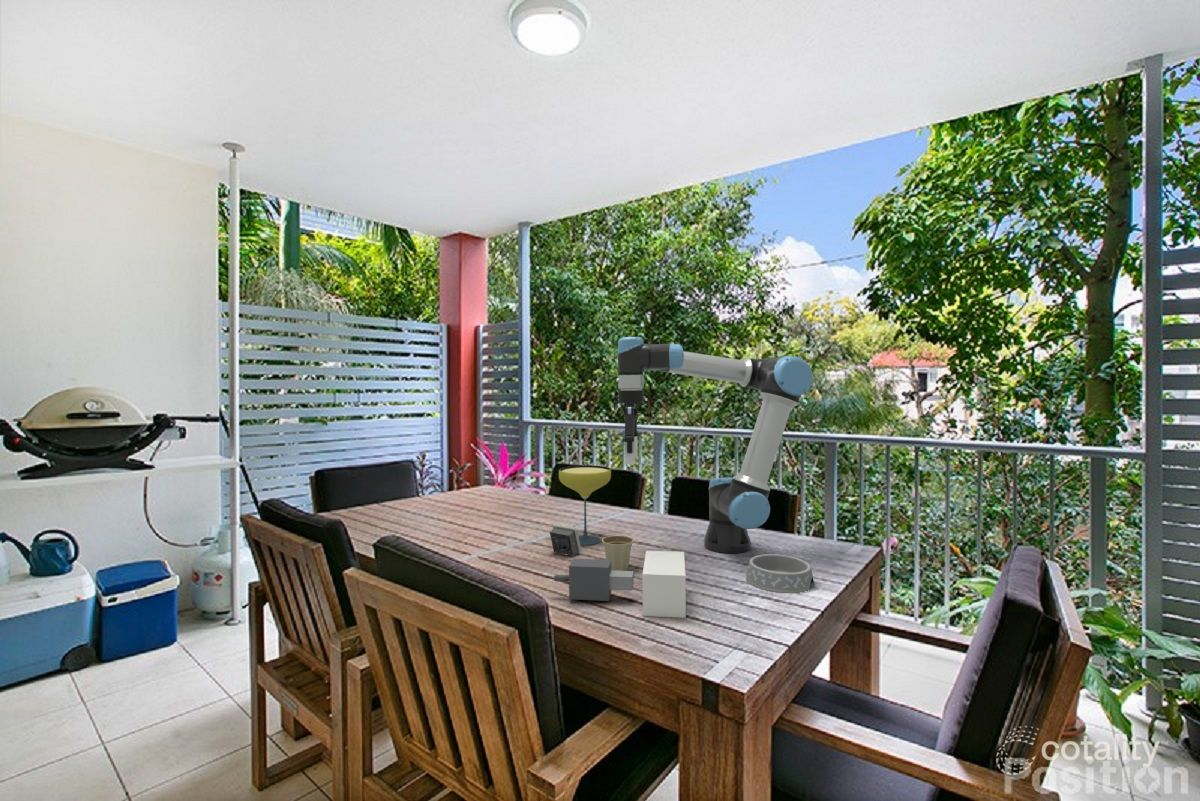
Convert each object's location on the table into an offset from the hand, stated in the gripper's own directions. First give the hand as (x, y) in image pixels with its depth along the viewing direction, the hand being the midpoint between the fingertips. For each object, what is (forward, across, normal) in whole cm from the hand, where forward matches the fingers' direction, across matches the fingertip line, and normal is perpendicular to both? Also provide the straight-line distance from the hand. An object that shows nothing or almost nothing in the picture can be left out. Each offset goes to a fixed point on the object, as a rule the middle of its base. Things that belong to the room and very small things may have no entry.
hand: (631, 461), depth 164 cm
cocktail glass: (+32, -24, -18) cm, 44 cm away
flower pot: (+32, +3, -4) cm, 32 cm away
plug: (+31, +26, -8) cm, 41 cm away
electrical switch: (+32, -9, -22) cm, 40 cm away
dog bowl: (+32, +8, +41) cm, 53 cm away
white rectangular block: (+32, +26, +10) cm, 42 cm away
